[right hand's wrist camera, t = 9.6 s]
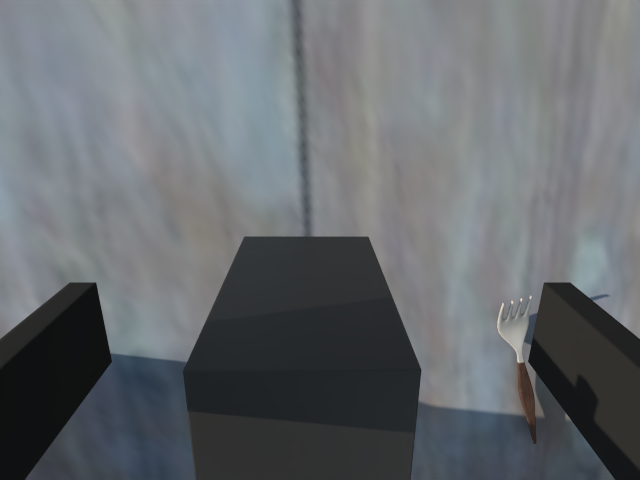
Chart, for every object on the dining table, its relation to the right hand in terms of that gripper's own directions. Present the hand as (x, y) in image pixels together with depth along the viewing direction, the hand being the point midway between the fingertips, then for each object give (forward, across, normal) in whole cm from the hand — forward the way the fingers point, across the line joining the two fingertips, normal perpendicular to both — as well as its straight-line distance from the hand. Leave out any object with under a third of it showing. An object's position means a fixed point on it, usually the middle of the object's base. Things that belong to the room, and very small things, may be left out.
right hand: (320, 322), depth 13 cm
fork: (+20, +17, -17) cm, 31 cm away
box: (+10, -1, -14) cm, 17 cm away
